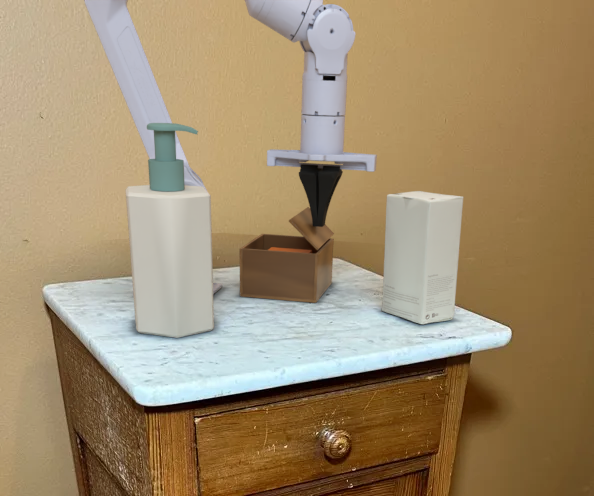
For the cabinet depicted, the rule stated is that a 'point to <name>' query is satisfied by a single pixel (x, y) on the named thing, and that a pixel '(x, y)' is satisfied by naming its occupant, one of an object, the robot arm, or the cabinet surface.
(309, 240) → the flap
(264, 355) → the cabinet surface
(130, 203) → the soap bottle
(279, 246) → the carton
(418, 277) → the cosmetic box
